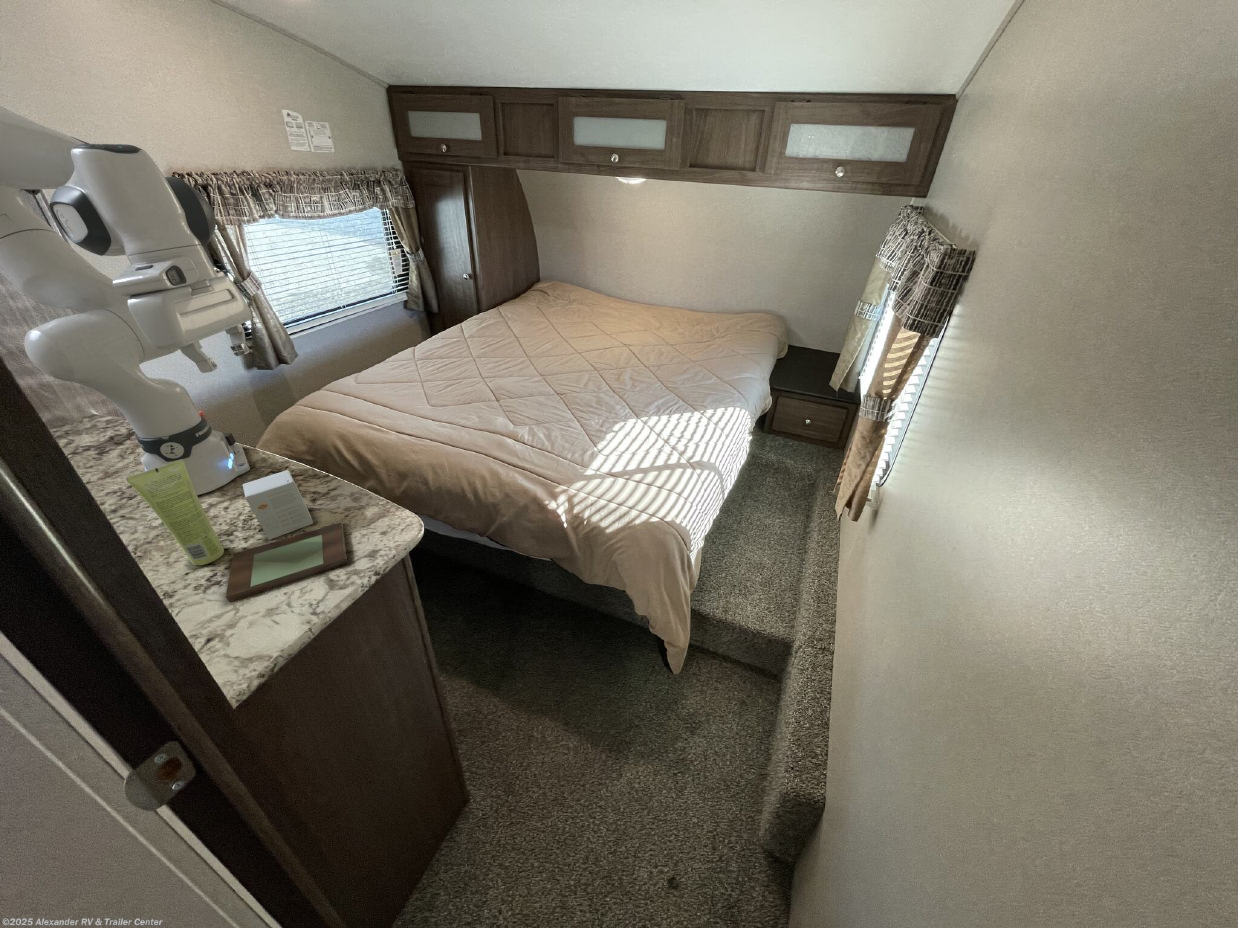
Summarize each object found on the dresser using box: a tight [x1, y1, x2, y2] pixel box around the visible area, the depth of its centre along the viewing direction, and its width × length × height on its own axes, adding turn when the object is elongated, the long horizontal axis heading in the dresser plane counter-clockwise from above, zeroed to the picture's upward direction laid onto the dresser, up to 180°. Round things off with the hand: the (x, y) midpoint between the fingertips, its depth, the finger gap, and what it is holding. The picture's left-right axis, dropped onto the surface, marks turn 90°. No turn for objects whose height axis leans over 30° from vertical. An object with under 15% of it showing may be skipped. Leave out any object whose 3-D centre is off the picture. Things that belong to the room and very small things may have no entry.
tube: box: [125, 459, 225, 566], centre depth 85 cm, size 6×5×20 cm
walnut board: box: [225, 522, 348, 603], centre depth 89 cm, size 12×18×1 cm, turn 119°
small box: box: [242, 469, 314, 541], centre depth 95 cm, size 8×6×10 cm
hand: (227, 362), depth 78 cm, fingers open, 8 cm apart
